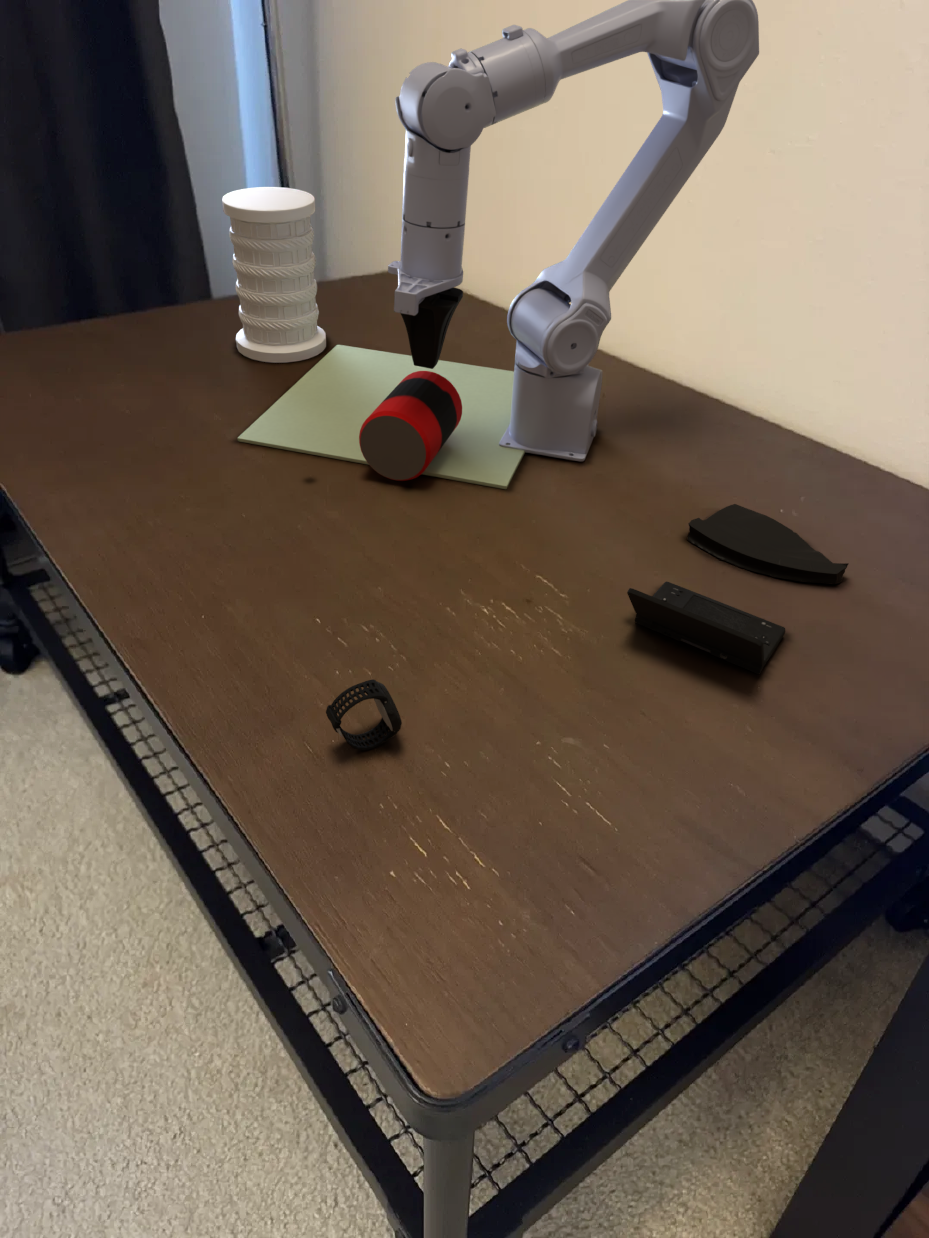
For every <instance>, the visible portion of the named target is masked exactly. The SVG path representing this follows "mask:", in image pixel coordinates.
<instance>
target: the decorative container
mask: <svg viewBox="0 0 929 1238" xmlns="http://www.w3.org/2000/svg"><path fill="white" fill-rule="evenodd" d="M221 203H222V211H223V213H224V215H226V216H228V217H229V220H230V227H229V232H228V234H229V235H228V236H229V237H228V238H230V243H231V244H232V246H233V255H232V262H231V263H232V266H233V269H234V271H235V272H236V280H235V292H236V295H237V297H238V298H239V303H240V304H239V306H238V317H239V320H240V322H241V323H242V328H241V329H240V330H239V331H238V332H237V333H236V335H235V343H236V348H237V351H238V352H239V353H240V354H241V355H243V356H244V357H246V358H248V359H251V360H254V361H259V362H263V363H264V362H265V363H272V364H273V363H274V364H275V363H276V364H277V363H279V364H280V363H281V364H282V363H293V362H301V361H305V360H308V359H311V358H314V357H316V356H319V354H321V353H323V352H324V351H325V349H326V348H327V336H326V335H327V334H326V331H325V330H324V329H323V328H321V326H318V320H319V315H320V311H319V307H318V306H319V305H318V304H317V301H316V295H317V292H318V283H317V280H316V278H315V271H314V270H315V269H316V262H317V259H316V256H315V253H314V252H313V242H314V238H315V232H314V229H313V225H312V224H311V216H313V215H314V213H316V199H315V196H314V195H313V194H312V193H310V192H308V191H305V190H301V189H298V188H292V187H291V188H290V187H281V186H258V187H256V186H255V187H254V186H253V187H248V188H247V187H246V188H241V189H236V190H233V191H230V192H227V193H226V194H224V195H223V196H222V198H221Z"/></svg>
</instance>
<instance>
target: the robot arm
mask: <svg viewBox="0 0 929 1238" xmlns="http://www.w3.org/2000/svg"><path fill="white" fill-rule="evenodd" d="M759 21H760V20H759V13H758V10H757V6H756V4H755V2H754V0H625V1H623V2H621V3H619V4H617V5H614V6H613V7H611V8H608V9H606V10H604V11H602V12H600V13H597V14H596V15H593V16H591V17H588V18H587V19H584V20H583V21H581V22H579V23H576V24H574V25H572V26H570V27H568V28H565V29H563V30H562V31H559V32H557V33H554V34H553V35H551V36H548V37H546V36H544V34H542V33H541V32H540V31H538V30H536V29H535V28H532V27H527V28H525V29H523V27H522V26H520V25H517V24H512V25H509V26H507V27H504V28H502V30H501V34H502V38H499V39H498V40H495V41H492V42H490V43H487V44H485V45H482V46H479V47H477V48H475V49H472V50H470V51H467V50H466V49H465V48H458V49H456V50H453V51H451V54H450V56H451V59H450V61H449V64H448V66H447V65H444V64H442V63H439V62H436V61H427V62H423V63H420V64H418V65H417V66H415V67H414V68H413V69H411V71H410V72H409V75H408V77H405V79H404V80H403V83H402V84H401V88H400V91H399V95H398V96H397V95H396V96H395V99H394V103H395V104H394V105H395V111H396V114H397V117H398V119H399V121H400V123H401V125H402V126H403V127H404V129H405V146H404V160H403V179H402V180H403V183H402V184H403V185H402V208H401V209H402V212H401V236H400V237H401V238H400V260H393V261H391V262H390V263H389V264H388V265H387V272H388V274H390V275H396V276H397V288H395V290H394V300H393V301H394V303H393V304H394V305H393V313H397V314H400V316H401V319H402V322H403V323H404V326H405V329H406V333H407V338H408V343H409V349H410V356H412V360H413V364H414V365H415V366H419V367H425V368H430V369H433V368H434V367H435V366H436V365H437V363H438V360H440V357H441V353H442V350H443V347H444V342H445V339H446V335H447V331H448V328H449V325H450V323H451V320H452V318H453V315H454V314H455V312H456V309H457V307H458V306H459V304H460V302H461V301H462V299H463V297H464V291H463V290H462V289H460V288H457V287H459V286H460V285H462V283H463V281H464V269H463V256H464V245H465V244H464V243H465V230H466V217H467V203H468V193H469V178H470V161H471V149H472V145H473V144H475V143H476V141H477V140H478V139H479V137H480V135H481V134H482V132H483V130H484V129H486V128H488V127H490V126H493V125H496V124H497V123H500V122H502V121H505V120H507V119H510V118H512V117H515V116H517V115H519V114H522V113H525V112H527V111H529V110H532V109H534V108H536V107H539V106H541V105H544V104H546V103H548V102H550V100H551V99H552V98H553V97H554V94H555V93H556V89H557V87H558V85H559V83H560V81H561V80H564V79H566V78H570V77H573V76H575V75H578V74H581V73H584V72H587V71H589V70H592V69H596V68H599V67H601V66H604V65H607V64H610V63H613V62H615V61H618V60H621V59H624V58H627V57H630V56H633V55H636V54H638V53H646V54H647V57H648V59H649V62H650V65H651V67H652V70H653V73H654V76H655V78H656V81H657V84H658V87H659V89H660V92H661V93H660V94H661V102H662V103H661V104H662V115H661V117H660V118H659V120H658V121H657V122H656V123H655V126H654V127H653V129H652V130H651V132H650V133H649V134H648V136H647V138H646V139H645V140H644V142H643V143H642V145H641V146H640V147H639V149H638V150H637V152H636V154H635V155H634V157H633V158H632V159H631V161H630V163H629V164H628V166H627V167H626V168H625V170H624V172H622V174H621V176H620V178H619V179H618V180H617V182H616V184H615V185H614V186H613V188H612V190H611V191H610V192H609V194H608V195H607V197H606V198H605V200H604V201H603V203H602V205H601V206H600V207H599V209H597V211H596V213H595V215H594V216H593V218H591V220H590V222H589V224H588V225H587V226H586V228H585V230H584V231H583V232H582V234H581V235H580V237H579V238H578V240H577V242H576V243H575V244H574V246H573V247H572V248H571V250H570V252H569V253H568V255H567V256H566V258H564V259H563V260H561V261H559V262H557V263H555V264H552V265H550V266H547V267H545V268H543V269H542V270H541V272H540V273H539V275H538V276H537V278H536V279H535V280H534V281H533V282H532V283H531V284H530V285H528V286H527V287H525V288H523V289H522V290H521V291H520V292H519V293H518V294H516V296H515V297H514V298H513V300H512V301H511V303H510V305H509V308H508V311H507V316H506V323H507V324H506V325H507V328H508V331H509V333H510V335H511V336H512V337H513V338H514V339H515V340H516V341H515V342H516V343H515V356H514V366H513V367H514V370H513V371H514V380H513V393H512V406H511V420H510V425H509V426H508V428H507V430H506V432H505V433H504V435H503V437H502V439H501V440H500V442H499V446H501V447H506V448H512V449H518V450H524V451H525V453H527V454H533V455H539V456H545V457H550V458H556V459H562V460H569V461H574V462H580V463H582V462H584V461H585V460H586V458H587V456H588V453H589V450H590V448H591V445H592V443H593V440H594V438H595V437H596V434H597V430H598V413H599V407H600V400H601V392H602V385H603V376H604V375H603V374H604V371H603V370H602V369H600V368H596V367H594V366H590V365H589V364H590V363H591V362H592V360H593V359H594V357H595V356H596V354H597V351H598V349H599V345H600V342H601V338H602V336H603V333H604V331H605V329H606V327H607V326H608V325H609V323H610V322H611V320H612V308H611V300H610V293H611V291H612V289H613V287H614V286H615V284H616V283H617V281H618V280H619V279H620V277H621V276H622V274H623V273H624V272H625V271H626V269H627V268H628V266H629V264H630V263H631V262H632V260H633V259H634V257H635V256H636V255H637V253H638V252H639V250H640V248H641V247H642V246H643V244H644V243H645V242H646V240H647V239H648V237H649V236H650V235H651V233H652V232H653V230H654V229H655V227H656V226H657V224H658V223H659V222H660V220H661V219H662V217H663V216H664V215H665V213H666V212H667V210H668V209H669V207H670V206H671V204H672V203H673V202H674V200H675V199H676V197H678V195H679V193H680V192H681V190H682V189H683V187H685V184H686V183H687V182H688V180H689V179H690V178H691V176H692V175H693V173H694V172H695V170H696V169H697V167H698V166H699V164H700V163H701V162H702V161H703V159H704V157H705V156H706V154H707V153H708V151H710V149H711V147H712V146H713V145H714V143H715V141H716V140H717V139H718V137H719V136H720V134H721V133H722V131H723V130H724V128H725V125H726V123H727V120H728V116H729V114H730V112H731V110H732V106H733V103H734V100H735V97H736V94H737V91H738V88H739V85H740V83H741V81H742V79H743V78H744V77H745V76H746V74H747V73H748V71H749V70H750V68H751V66H752V65H753V64H754V62H755V61H756V60H757V58H758V57H759V55H760V28H759V27H760V25H759ZM507 444H509V445H507Z"/></svg>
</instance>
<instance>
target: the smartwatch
mask: <svg viewBox="0 0 929 1238" xmlns="http://www.w3.org/2000/svg"><path fill="white" fill-rule="evenodd" d="M357 690H358V691H357ZM352 692H353V693H352ZM360 695H361V696H360ZM355 698H356V699H355ZM367 700H373V701H374V703H375V705H376V708H377V710H378V712H379V714H380V716H381V719H380V720H379V722H378V723H377V725H375V726H374V727H373V728H371V729H370V730H367V731H365V732H363V733H359V734H356V733H355V734H354V733H350V732H348V731H346V730H344V729H343V728H342V726H341V725H342V718H343V717H344V716H345V714H347V712H348V711H350V710H351V709H352V708H353V707H355V706H356V705H357V704H359V703H362V702H364V701H367ZM347 704H348V705H347ZM343 707H344V708H343ZM325 714H326V717H327V719H328V720H329V721H330V723H331V724H330V725H331V726H332V728H333V730H334V732H335V733H337V734H339V736H340V737H341V738H343V739H344V740H345V741H346V743H347V744H348V745H349V746H350V747H351V748H353V749H356V750H358V751H369V750H372V749H374V748H376V747H378V746H380V745H382V744H383V743H386V742H387V741H389V740H390V739H391V738H393V737H395V736H396V735H397V734H398V733H399V732H400V730H401V728H402V724H403V722H402V718H401V715H400V712H399V710H398V707H397V706H396V703H395V701H394V699H393V697H392V695H391V694H390V692H389V690H388V688H387V687H386V686H385V685H384V683H382V682H379V681H377V680H376V679H374V678H373V679H368V680H364V681H362V682H360V683H357V684H354V685H351V686H350V687H348V688H346V689H345V690H343V691H342V692H341V693H339V694H338V696H336V698H335V699H333V701H332V703H331V704H328V705H327V707H326V710H325ZM373 734H374V735H373ZM368 736H369V738H368ZM380 737H382V738H380Z"/></svg>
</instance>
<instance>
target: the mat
mask: <svg viewBox="0 0 929 1238" xmlns="http://www.w3.org/2000/svg"><path fill="white" fill-rule="evenodd" d="M417 371H430V372H434V373H437V374H440V375H441V376H443V377H445V378H446V379H447V380H448V381H450V382H451V383H452V385H453V386H454V387H455V388H456V390H457V392H458V394H459V396H460V399H461V402H462V416H461V420H460V422H459V424H458V426H457V427H456V428H455V430H454V431H453V433H452V434H451V435H450V437H449V438H448V439H447V441H446V442H445V444H444V445H443V446H442V448H441V449H440V450H439V452H438V453H437V455H436V456H435V457H434V459H433V460H432V461H431V463H430V464H429V466H428V467H427V468H426V470H425V471H424V472H423V473H422V474H421V475H424V476H429V477H435V478H441V479H447V480H450V481H458V482H462V483H469V484H475V485H479V486H485V487H490V488H496V489H500V490H501V489H502V490H507V489H508V488H509V486H510V484H511V481H512V480H513V477H514V475H515V474H516V471H517V469H518V467H519V465H520V463H521V461H522V459H523V457H524V455H525V454H526V452H525V451H524V450H518V449H512V448H506V447H501V446H499V442H500V440H501V439H502V437H503V435H504V433H505V432H506V430H507V428H508V426H509V425H510V420H511V406H512V393H513V380H514V370H508V369H507V370H506V369H501V368H495V367H494V368H493V367H488V366H481V365H474V364H468V363H463V362H462V363H461V362H454V361H448V360H441V359H439V360H438V363H437V365H436V366H435V367H434V368H433V369H430V368H425V367H419V366H415V365H414V364H413V360H412V355H409V354H403V353H395V352H390V351H382V350H376V349H368V348H364V347H356V346H349V345H343V344H336V345H335V346H334V347H333V348H332V349H331V350H330V351H329V352H327V354H326V355H324V356H323V357H322V358H321V359H320V360H319V361H318V362H317V363H316V364H315V365H314V366H313V367H311V369H309V370H308V371H307V372H306V373H305V374H304V375H302V377H301V378H300V379H299V380H297V382H296V383H294V384H293V385H292V386H291V387H290V388H289V389H288V390H287V391H286V392H285V393H284V394H283V395H282V396H281V397H279V398H278V399H277V400H276V401H275V402H274V403H273V404H272V405H271V406H270V407H269V408H268V409H267V410H266V411H264V412H263V413H262V414H261V415H260V416H259V417H258V418H257V419H256V420H255V421H254V422H253V423H251V425H250V426H248V427H247V428H246V429H245V430H244V431H243V432H242V433H241V434H240V435H239V436H238V437H237V438H236V439H237V442H240V443H246V444H252V445H257V446H263V447H268V448H269V447H270V448H274V449H279V450H285V451H290V452H296V453H303V454H307V455H314V456H319V457H322V458H323V457H324V458H329V459H335V460H341V461H347V462H351V463H357V464H364V465H369V464H368V463H367V461H366V459H365V458H364V456H363V454H362V452H361V448H360V444H359V434H360V429H361V427H362V425H363V423H364V422H365V420H366V419H367V418H368V417H369V416H370V415H371V414H372V413H373V411H374V410H375V409H376V408H377V407H378V406H379V405H380V404H381V403H382V402H383V401H384V399H385V398H386V397H387V396H388V395H389V394H390V393H391V392H392V391H393V390H394V389H395V387H396V386H397V385H398V384H399V383H400V382H401V381H402V380H403V379H404V378H405V377H406V376H408V375H409V374H411V373H413V372H417ZM507 445H509V444H507ZM369 466H370V465H369Z"/></svg>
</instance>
